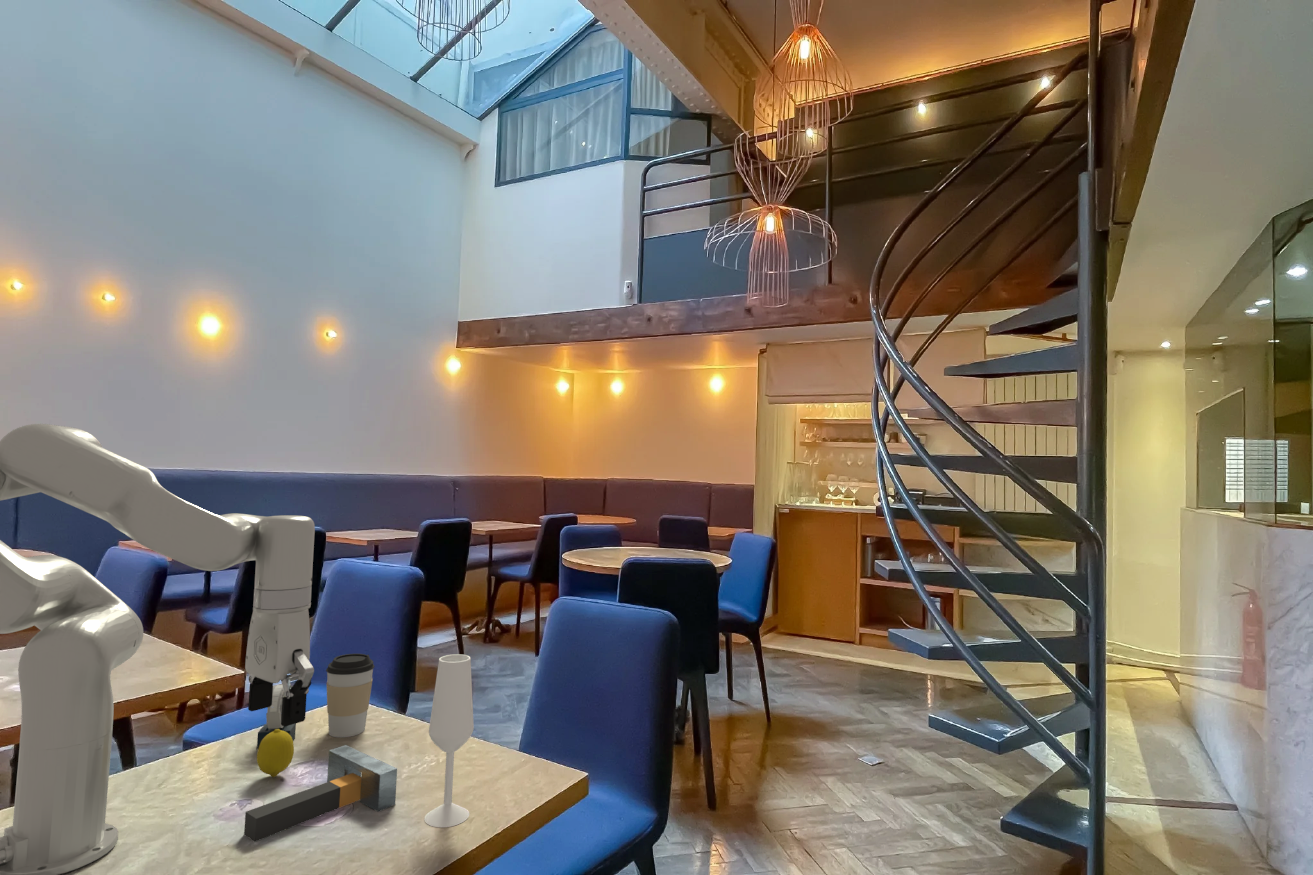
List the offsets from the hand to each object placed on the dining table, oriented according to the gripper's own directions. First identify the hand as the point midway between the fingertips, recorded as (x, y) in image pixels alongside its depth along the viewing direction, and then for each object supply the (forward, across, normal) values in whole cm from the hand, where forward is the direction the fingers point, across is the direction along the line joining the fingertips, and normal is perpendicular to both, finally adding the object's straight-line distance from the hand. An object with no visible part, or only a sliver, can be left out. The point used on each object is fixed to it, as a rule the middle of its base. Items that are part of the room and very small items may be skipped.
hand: (276, 715), depth 99 cm
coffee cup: (+17, -27, +28) cm, 42 cm away
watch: (+16, -31, +16) cm, 39 cm away
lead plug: (+16, 0, +6) cm, 17 cm away
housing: (+16, 0, +14) cm, 22 cm away
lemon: (+17, -17, +9) cm, 25 cm away
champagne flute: (+17, +17, +18) cm, 30 cm away
